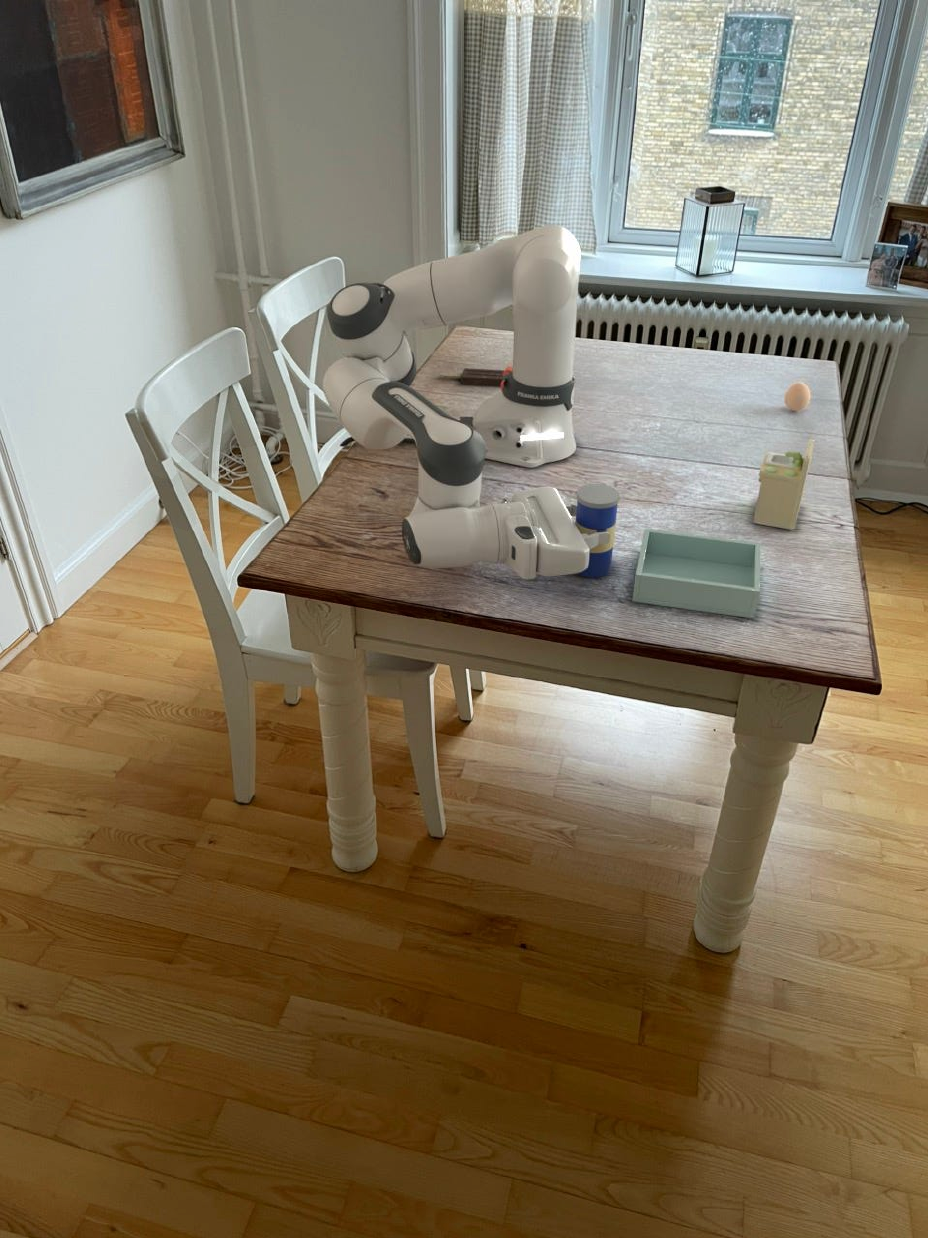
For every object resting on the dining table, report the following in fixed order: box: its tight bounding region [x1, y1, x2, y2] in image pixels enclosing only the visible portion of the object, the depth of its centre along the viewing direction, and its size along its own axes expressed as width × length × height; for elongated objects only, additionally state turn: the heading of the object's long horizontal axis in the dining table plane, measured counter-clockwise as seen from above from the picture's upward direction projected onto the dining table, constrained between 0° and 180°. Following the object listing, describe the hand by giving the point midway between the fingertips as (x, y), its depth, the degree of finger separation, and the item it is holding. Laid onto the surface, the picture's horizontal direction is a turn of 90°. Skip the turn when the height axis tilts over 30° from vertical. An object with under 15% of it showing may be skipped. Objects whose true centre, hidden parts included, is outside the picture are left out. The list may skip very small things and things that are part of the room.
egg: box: [783, 381, 811, 412], centre depth 197 cm, size 5×5×6 cm
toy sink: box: [753, 439, 816, 531], centre depth 160 cm, size 8×7×13 cm
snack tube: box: [574, 483, 621, 579], centre depth 147 cm, size 6×6×13 cm
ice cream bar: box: [440, 367, 505, 387], centre depth 212 cm, size 5×2×15 cm
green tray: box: [632, 528, 762, 619], centre depth 145 cm, size 18×14×5 cm
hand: (601, 523), depth 146 cm, fingers closed on snack tube, 6 cm apart
